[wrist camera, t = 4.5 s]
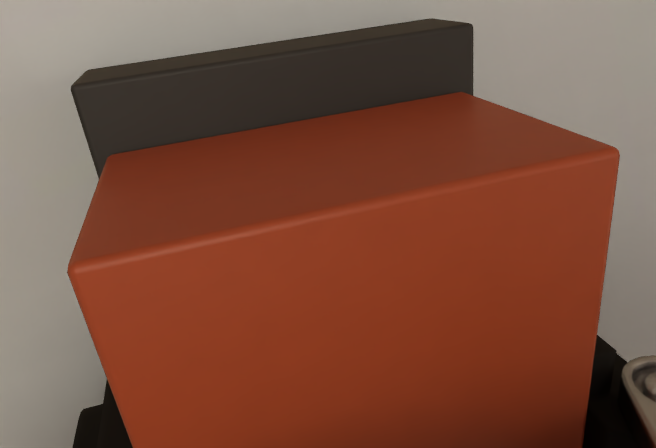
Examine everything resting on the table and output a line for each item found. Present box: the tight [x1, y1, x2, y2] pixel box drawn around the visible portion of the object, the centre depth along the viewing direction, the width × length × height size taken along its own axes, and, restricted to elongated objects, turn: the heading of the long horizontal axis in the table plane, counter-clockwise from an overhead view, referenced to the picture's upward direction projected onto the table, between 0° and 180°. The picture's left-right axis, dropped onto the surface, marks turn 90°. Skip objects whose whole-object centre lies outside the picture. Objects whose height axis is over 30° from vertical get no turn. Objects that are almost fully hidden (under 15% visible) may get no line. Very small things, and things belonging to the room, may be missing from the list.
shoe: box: [67, 19, 620, 448], centre depth 9 cm, size 12×6×5 cm, turn 7°
